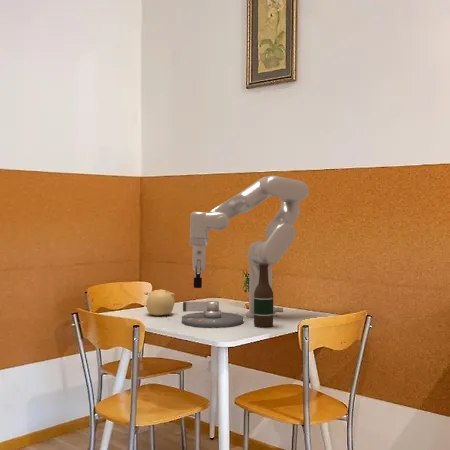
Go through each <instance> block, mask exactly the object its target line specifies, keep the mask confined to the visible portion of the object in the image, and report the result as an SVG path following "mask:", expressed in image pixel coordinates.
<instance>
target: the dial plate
mask: <svg viewBox="0 0 450 450" xmlns="http://www.w3.org/2000/svg"><path fill="white" fill-rule="evenodd" d="M243 323H244V317H243V315H241V314H237V313H232V312H223V311H221V317H218V318H207V317H204V311H199V312H192V313H187V314H184V315H182V316H181V324H183V325H185V326H188V327H193V328H203V329H204V328H205V329H217V328H218V329H219V328H220V329H221V328H232V327H238V326H240V325H242V324H243Z"/></svg>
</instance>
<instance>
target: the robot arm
mask: <svg viewBox="0 0 450 450" xmlns="http://www.w3.org/2000/svg"><path fill="white" fill-rule="evenodd" d="M309 194H310V190H309V186H308V184H306V182H304V181H302V180H298V179H294V178H293V179H292V178H288V177H282V176H278V175H268V176H263V177H261V178H260V179H257V180H256V181H255V182H254V183H252V184H251V185H249V186H248V187H247V188H244V189H243V190H242V191H240V192H239V193H237V194H235V195H234V196H232V197H230V198H229V199H228V200H226V201H224V202H222V203H221V204H219V205H217V206H216V207H214V208H213V209H211V210H210V211H209V212H206V211H193V212H191V213H190V215H189V216H190V217H189V220H190V221H189V222H190V223H189V247H192V248H191V250H192V256H191V260H192V261H191V262H192V270H193V271H194V273H193V274H194V277H193V288H194V289H201V288H202V285H203V282H202V281H203V277H202V271H203V272H206V260H207V259H206V254H207V252H206V247H209V230H212V231H225V230H226V229H228V227H229V225H230V219H232V218H234V217H236V216H239V215H243V214H245V213H248V212H250V211H252V210H253V209H255V208H256V207H257V206H259V205H261V204H262V203H264V202H265V201H266V200H268V199H269V198H271V197H275V198H276V197H277V198H280V201H281V202H280V203H281V205H280V208H279V210H278V211H277V212H276V214H275V215H274V216H273V219H271V220H270V222H269V223H268V225H267V226H266V228H265V229H264V236H265V239H266V240H265V241H264V240H257V241H254V242H253V243H251V244H250V246H249V247H248V250H247V259H248V260H247V261H248V271H249V273H248V274H249V276H248V277H249V280H248V281H249V282H248V283H249V284H248V285H249V293H248V294H249V295H248V296H249V297H248V299H249V300H248V301H249V303H248V305H249V306H248V307H249V309H248V310H249V311H248V312H246V313H245V317H248V318H251V319H254V292H255V289H256V287H257V285H258V283H259V272H260V266H259V264H260V263H268V281H269V285H270V287H271V288H272V289H273V270H272V266H273V265H276V264H277V263H278V262H279V261H280V260H281V259H282V258H283V256H284V254H285V253H286V252H287V251H288V250H289V248H290V247H291V245H292V243H293V242H294V240H295V238H296V228H295V226H294V225H295V223H296V221H298V218H299V216H300V213H301V205H300V202H302V201H305V200H306V198H308V196H309ZM283 312H284V307H278V306H277V307H276V306H274V305H273V318H274V317H275V318H276V316H277V313H283Z"/></svg>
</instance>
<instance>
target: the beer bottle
mask: <svg viewBox="0 0 450 450" xmlns="http://www.w3.org/2000/svg"><path fill="white" fill-rule="evenodd" d="M259 266H260V272H259V283H258V285H257V287H256V289H255V292H254V318H253V325H254V327H255V328H272V327H273V326H274V317H273V306H274V292H273V287H272V288H271V287H270V285H269V281H268V263H260V264H259Z"/></svg>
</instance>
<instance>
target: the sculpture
mask: <svg viewBox="0 0 450 450" xmlns="http://www.w3.org/2000/svg"><path fill="white" fill-rule="evenodd" d="M145 306H146V310H147V312H148V314H149V315H153V316H166V315H170V314H172V312H173V310H174V307H175V293H174V292H170V291H169V290H166V289H161V288H160V289H154V290H152V291H150V292H148V297H147V299H146V303H145Z"/></svg>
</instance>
